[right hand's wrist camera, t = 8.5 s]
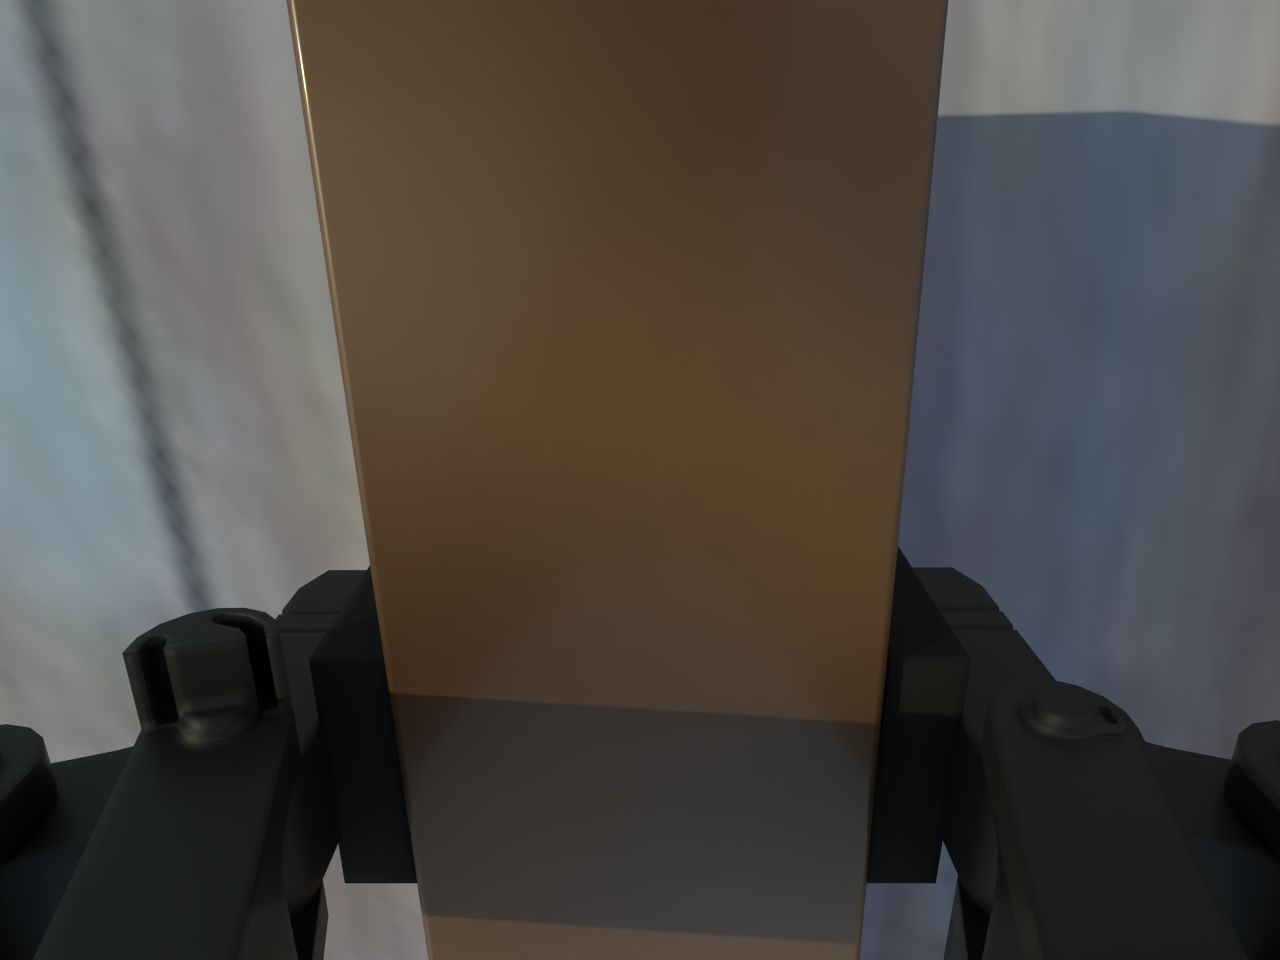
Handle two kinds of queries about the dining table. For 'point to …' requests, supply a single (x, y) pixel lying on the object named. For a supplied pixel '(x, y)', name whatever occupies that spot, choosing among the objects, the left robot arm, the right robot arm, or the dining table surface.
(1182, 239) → the dining table surface
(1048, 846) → the right robot arm
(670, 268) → the beam
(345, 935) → the dining table surface
